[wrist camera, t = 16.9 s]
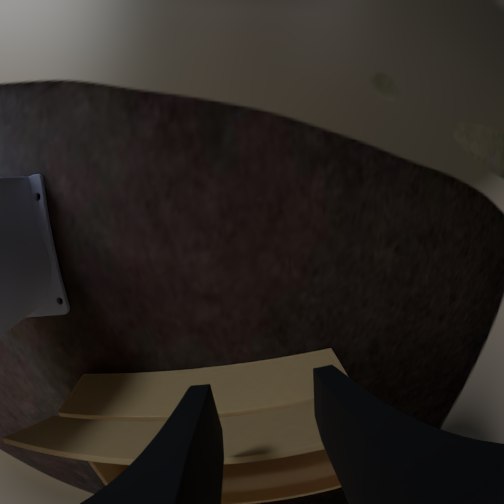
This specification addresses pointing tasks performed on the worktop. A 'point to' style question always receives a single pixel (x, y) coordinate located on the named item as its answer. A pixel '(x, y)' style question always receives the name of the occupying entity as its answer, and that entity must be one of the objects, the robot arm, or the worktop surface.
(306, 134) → the worktop surface
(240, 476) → the carton
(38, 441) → the flap
